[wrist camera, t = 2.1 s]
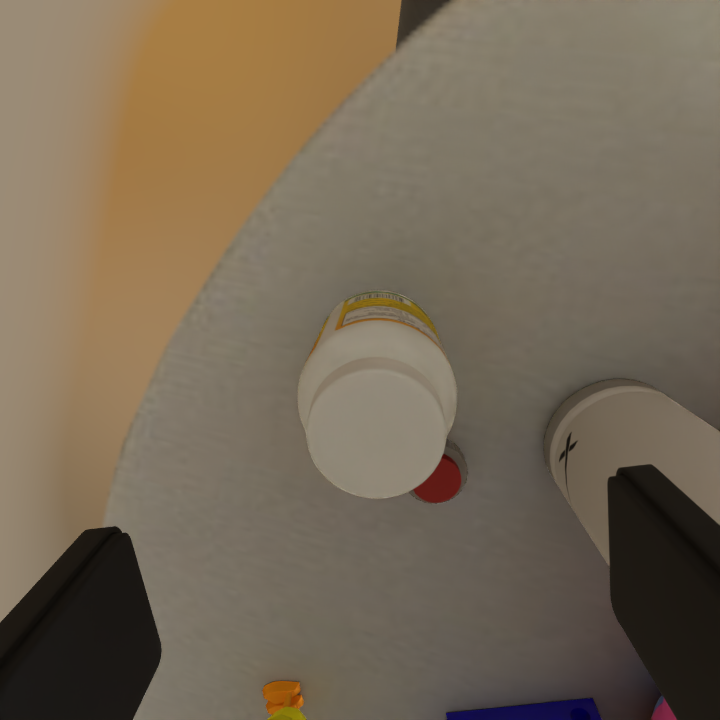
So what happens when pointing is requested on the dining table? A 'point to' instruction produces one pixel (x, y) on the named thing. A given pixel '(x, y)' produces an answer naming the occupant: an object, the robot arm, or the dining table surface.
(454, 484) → the push button
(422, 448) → the supplement bottle
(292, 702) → the toy figure
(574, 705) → the cable holder
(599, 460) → the travel mug
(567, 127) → the dining table surface
